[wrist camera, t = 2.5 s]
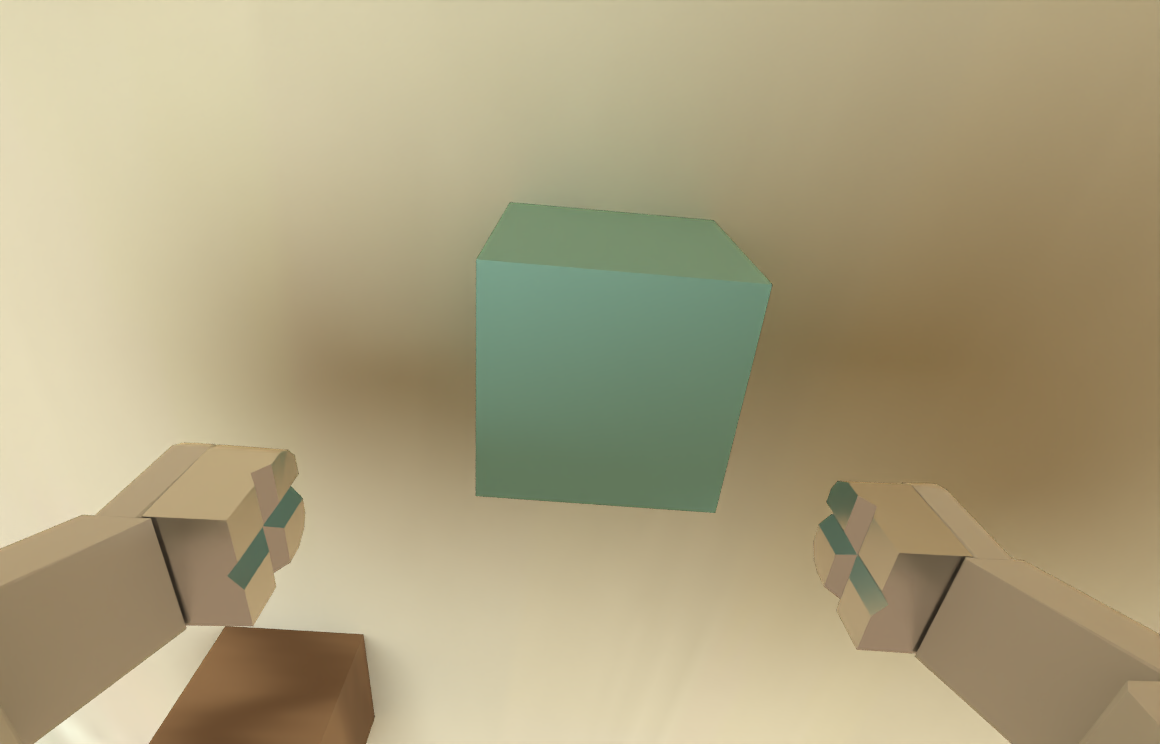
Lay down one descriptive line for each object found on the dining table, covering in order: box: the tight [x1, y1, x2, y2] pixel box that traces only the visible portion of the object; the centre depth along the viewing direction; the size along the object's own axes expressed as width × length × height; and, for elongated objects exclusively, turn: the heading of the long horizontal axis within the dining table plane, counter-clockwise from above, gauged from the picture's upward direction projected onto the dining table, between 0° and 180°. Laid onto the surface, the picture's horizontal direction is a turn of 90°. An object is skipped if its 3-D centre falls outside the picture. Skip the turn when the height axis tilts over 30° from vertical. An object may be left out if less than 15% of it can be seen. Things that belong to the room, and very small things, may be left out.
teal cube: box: [476, 202, 772, 513], centre depth 13 cm, size 5×5×5 cm
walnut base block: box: [149, 626, 375, 744], centre depth 20 cm, size 5×5×5 cm
